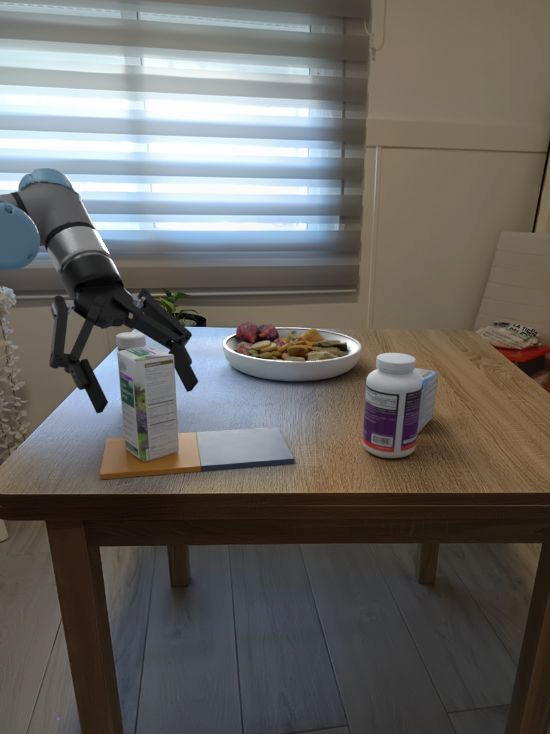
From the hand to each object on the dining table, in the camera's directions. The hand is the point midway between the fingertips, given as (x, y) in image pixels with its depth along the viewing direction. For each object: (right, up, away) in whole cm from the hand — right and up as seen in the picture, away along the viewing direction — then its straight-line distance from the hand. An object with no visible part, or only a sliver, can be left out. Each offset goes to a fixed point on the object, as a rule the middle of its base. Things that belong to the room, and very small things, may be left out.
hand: (150, 397), depth 77 cm
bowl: (+17, +9, +49) cm, 53 cm away
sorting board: (+5, -8, +6) cm, 11 cm away
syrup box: (-1, -8, +5) cm, 9 cm away
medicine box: (+39, -4, +20) cm, 44 cm away
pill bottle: (+33, -8, +10) cm, 35 cm away
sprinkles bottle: (-8, -2, +20) cm, 22 cm away
